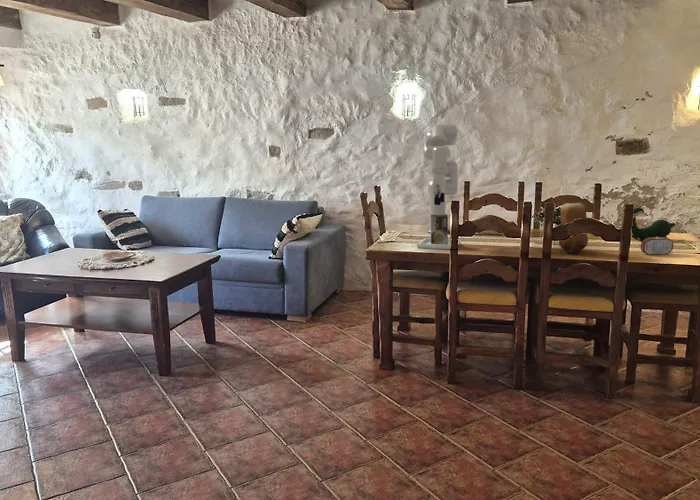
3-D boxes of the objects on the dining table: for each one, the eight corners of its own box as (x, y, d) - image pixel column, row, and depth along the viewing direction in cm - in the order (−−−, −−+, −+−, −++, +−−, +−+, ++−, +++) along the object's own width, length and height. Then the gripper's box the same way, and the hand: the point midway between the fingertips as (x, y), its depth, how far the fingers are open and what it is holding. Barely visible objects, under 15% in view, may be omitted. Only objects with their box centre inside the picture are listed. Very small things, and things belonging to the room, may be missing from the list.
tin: (669, 253, 277) (671, 236, 275) (673, 254, 274) (675, 237, 272) (639, 254, 277) (640, 237, 275) (642, 255, 274) (644, 238, 272)
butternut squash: (566, 248, 293) (569, 200, 288) (592, 252, 283) (595, 202, 278) (552, 253, 284) (555, 203, 279) (578, 257, 274) (581, 205, 269)
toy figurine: (631, 245, 305) (680, 240, 302) (630, 210, 301) (680, 205, 298) (624, 241, 314) (672, 237, 311) (623, 207, 310) (672, 202, 307)
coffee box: (447, 243, 310) (447, 214, 307) (447, 245, 304) (448, 216, 300) (430, 243, 311) (430, 214, 308) (430, 245, 305) (430, 216, 302)
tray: (424, 242, 318) (424, 238, 318) (460, 243, 311) (460, 239, 311) (417, 247, 304) (417, 243, 303) (454, 249, 297) (454, 245, 296)
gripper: (436, 169, 308) (436, 201, 312) (428, 172, 292) (428, 205, 296) (450, 169, 305) (449, 201, 309) (443, 172, 290) (443, 206, 294)
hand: (439, 203), depth 303 cm, fingers open, 9 cm apart
